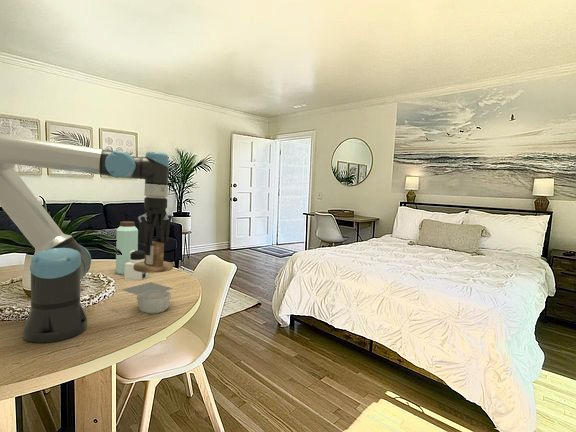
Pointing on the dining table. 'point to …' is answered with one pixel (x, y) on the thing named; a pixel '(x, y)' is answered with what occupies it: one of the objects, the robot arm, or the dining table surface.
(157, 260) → the lid
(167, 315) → the dining table surface
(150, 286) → the mat
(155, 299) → the ramekin
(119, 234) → the water bottle
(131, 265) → the container
